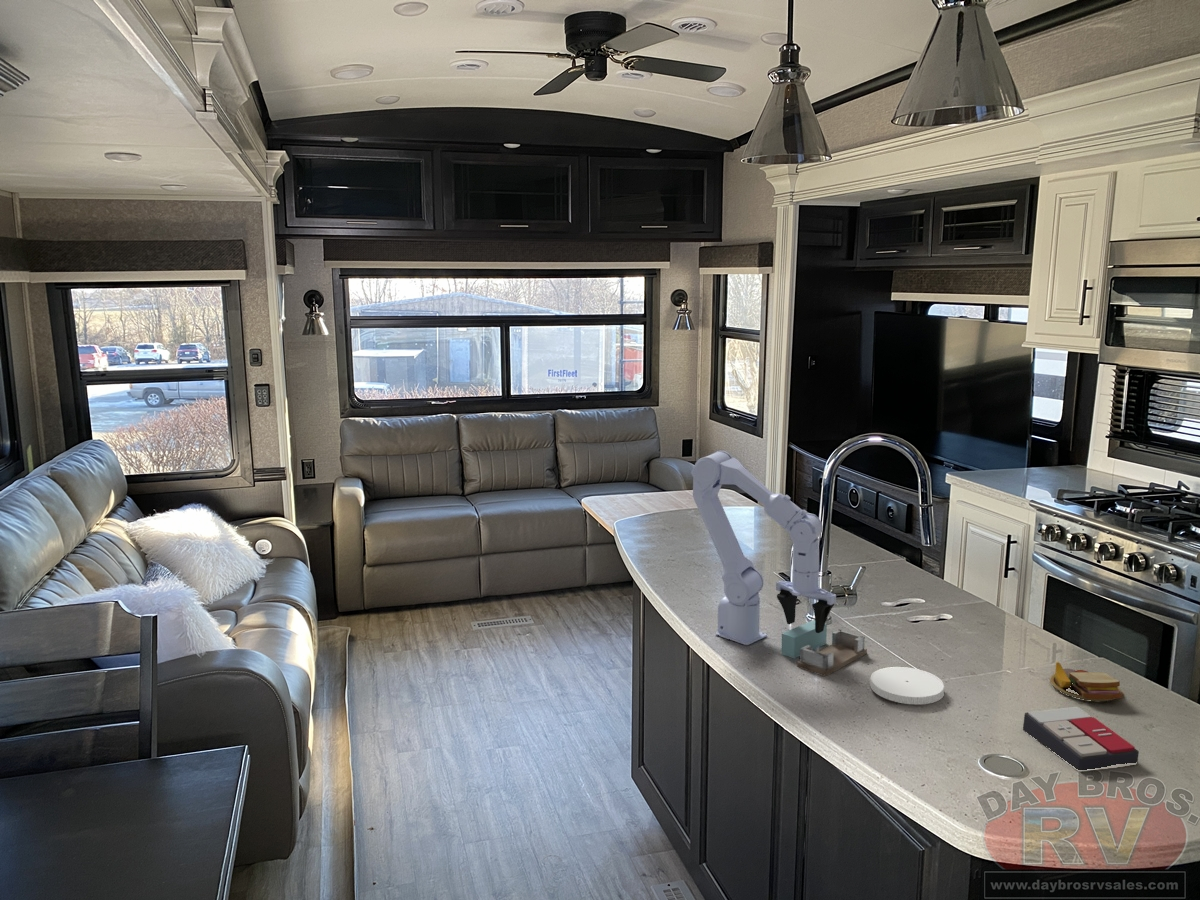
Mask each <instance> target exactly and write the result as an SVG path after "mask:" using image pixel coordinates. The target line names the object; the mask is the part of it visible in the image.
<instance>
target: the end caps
mask: <svg viewBox="0 0 1200 900" xmlns="http://www.w3.org/2000/svg"><path fill="white" fill-rule="evenodd" d="M831 636H832V638H831V639H832V640H831V645H833V646H837V645H839V644H842V645H846V646H849V647H852V648H854V652H855V653H859V652H861V651H863V650H864V648H865V640H866V639H865V636H863V635H860V634H856V633H853V632H850V631H846V630H842V629H841V628H840V629H837V630H834V631H833V632H832V635H831ZM833 655H834V653H831V652H830V653H828V654H826V655H824V654H821V653H818V651H814V650H811V646H810V645H807V646H805V647H803V648H801V649H800V656H799V661H800V662H802V663H805V664H808V665H811V666H814V667H817V668H820V669H823V670H828V669H830V668H831V667H833Z"/></svg>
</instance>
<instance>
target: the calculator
mask: <svg viewBox="0 0 1200 900" xmlns="http://www.w3.org/2000/svg"><path fill="white" fill-rule="evenodd" d="M1023 715H1024V717H1023V724H1022V725H1023V726H1022V731H1023V732H1025V733H1026V732H1027V733H1028V734H1027V733H1026V734H1027V735H1029V736H1030V735H1031V736H1032V738H1033V737H1034V738H1035V739H1037V740H1038V742H1039V743H1041V744H1042V743H1043V744H1044V745H1043V744H1042V745H1043V746H1045V747H1046V746H1047V747H1048V748H1050V749H1051V750H1052V751H1053V752H1055V753H1056V754H1057V755H1059V756H1060V757H1061V758H1063V759H1064V760H1065V761H1067V762H1068V763H1069V764H1071V765H1072V766H1074V767H1075V768H1076V769H1078V770H1087V769H1095V768H1101V767H1107V766H1111V765H1116V764H1125V763H1126V764H1127V763H1136V762H1137V763H1138V760H1139V754H1140V751H1139V750H1138V749H1137V748H1136V747H1135V746H1134V745H1132V744H1131V743H1130V742H1129V741H1127V740H1126V739H1124V737H1122V736H1121V735H1119V734H1117V733H1116V732H1115V731H1114V730H1113V729H1110V727H1108V726H1106V725H1105V724H1104V723H1102V722H1101V721H1100V720H1098V719H1097V718H1095V717H1092V716H1091V715H1090V714H1088V713H1087V712H1086V711H1085V710H1083V709H1082V708H1080V707H1079V706H1069V707H1061V708H1053V709H1045V710H1044V709H1043V710H1033V711H1028V712H1024V714H1023ZM1031 736H1030V737H1031ZM1034 738H1033V739H1034ZM1035 739H1034V740H1035ZM1037 740H1036V741H1037ZM1047 747H1046V748H1047ZM1048 748H1047V749H1048ZM1051 750H1050V751H1051ZM1052 751H1051V752H1052ZM1053 752H1052V753H1053ZM1056 754H1055V755H1056ZM1057 755H1056V756H1057ZM1061 758H1060V759H1061ZM1065 761H1064V762H1065ZM1069 764H1068V765H1069Z"/></svg>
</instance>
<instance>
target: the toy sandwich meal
mask: <svg viewBox="0 0 1200 900" xmlns="http://www.w3.org/2000/svg"><path fill="white" fill-rule="evenodd" d="M1049 682H1050V684H1051V685H1052V686H1053V687H1054V689H1055V688H1056V689H1057V690H1056V689H1055V690H1056V691H1058V690H1059V691H1061V692H1062V693H1064V694H1067V695H1069V696H1073V697H1076V698H1080V699H1084V700H1091V701H1107V702H1109V701H1108V700H1111V701H1113V700H1115V699H1117V700H1119V699H1122V698H1124V692H1123V691H1122V689H1121V687H1120V680H1119V679H1116V678H1115V677H1113V676H1111V675H1109V674H1108V673H1107V672H1102V671H1101V672H1099V671H1097V672H1095V671H1094V672H1093V671H1092V672H1089V671H1088V670H1084V669H1083V670H1082V669H1077V670H1076V669H1073V668H1063V666H1062V664H1061V663H1060V662H1059V661H1057V662H1056V663H1055V670H1054V674H1052V675H1051V676H1050V678H1049ZM1072 683H1073V684H1072ZM1070 686H1071V687H1070ZM1068 688H1070V689H1071V690H1074V691H1075V692H1077V693H1078V694H1079V695H1077V694H1074V693H1071V692H1068V691H1066V689H1068ZM1059 691H1058V692H1059ZM1062 693H1061V694H1062ZM1064 694H1063V695H1064ZM1069 696H1068V697H1069ZM1112 699H1113V700H1112Z"/></svg>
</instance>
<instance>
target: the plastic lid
mask: <svg viewBox="0 0 1200 900" xmlns="http://www.w3.org/2000/svg"><path fill="white" fill-rule="evenodd" d="M869 685H870V688H871V690H872V692H874V693H875V694H876V695H878V696H880V697H881V698H884V699H885V700H888V701H891V702H895V703H899V704H900V703H901V704H904V705H919V706H920V705H926V704H927V705H929V704H932V703H936V702H938V701H940V700H941V699H942V698H944V695H945V683H944V682H943V680H942V679H941V678H939V677H938V676H937V675H935V674H933V673H931V672H929V671H925V670H922V669H918V668H914V667H906V666H904V667H903V666H892V667H891V666H889V667H884V668H882V667H881V668H880V669H876V670H875V671H874V672H872V673H871V675H870V682H869Z"/></svg>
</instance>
